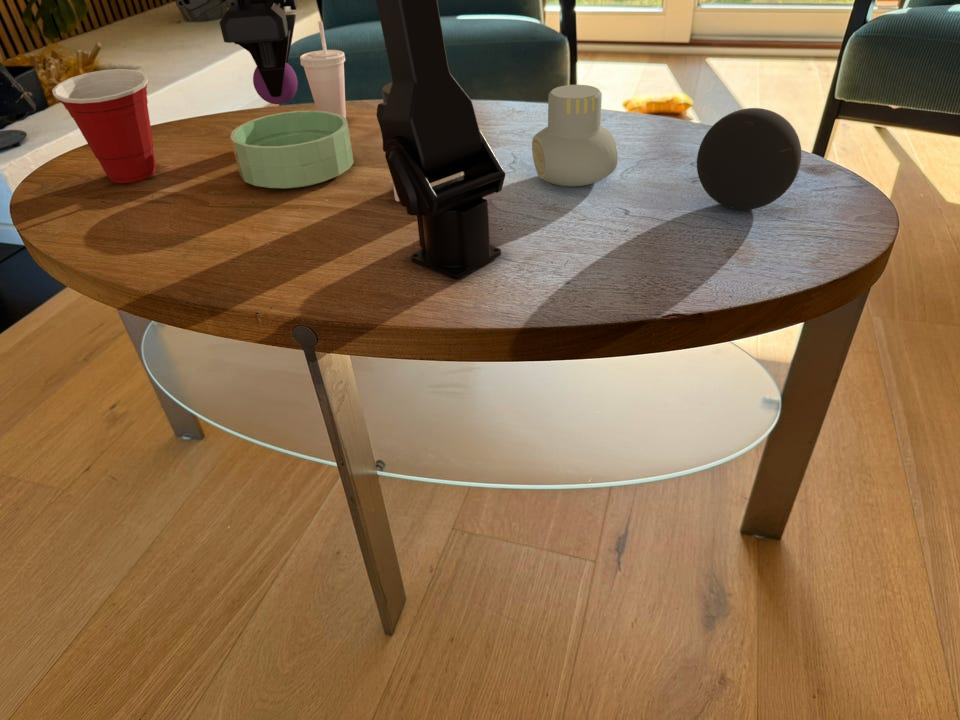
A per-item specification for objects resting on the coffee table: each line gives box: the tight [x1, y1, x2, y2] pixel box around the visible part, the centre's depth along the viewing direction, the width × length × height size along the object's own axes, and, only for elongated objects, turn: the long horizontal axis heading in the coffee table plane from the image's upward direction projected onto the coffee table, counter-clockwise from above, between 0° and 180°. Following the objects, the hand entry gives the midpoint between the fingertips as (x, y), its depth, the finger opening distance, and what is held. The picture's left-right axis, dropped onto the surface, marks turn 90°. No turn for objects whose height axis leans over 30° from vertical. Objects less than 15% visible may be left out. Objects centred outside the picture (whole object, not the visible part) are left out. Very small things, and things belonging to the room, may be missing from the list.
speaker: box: [696, 107, 802, 211], centre depth 73 cm, size 10×10×10 cm
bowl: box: [229, 110, 355, 189], centre depth 89 cm, size 14×14×6 cm
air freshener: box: [531, 84, 619, 188], centre depth 81 cm, size 11×8×10 cm
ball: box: [252, 62, 299, 105], centre depth 82 cm, size 5×5×5 cm
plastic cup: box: [51, 68, 157, 184], centre depth 89 cm, size 11×11×12 cm
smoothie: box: [299, 20, 347, 119], centre depth 102 cm, size 6×6×14 cm
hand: (278, 90), depth 83 cm, fingers closed on ball, 5 cm apart
